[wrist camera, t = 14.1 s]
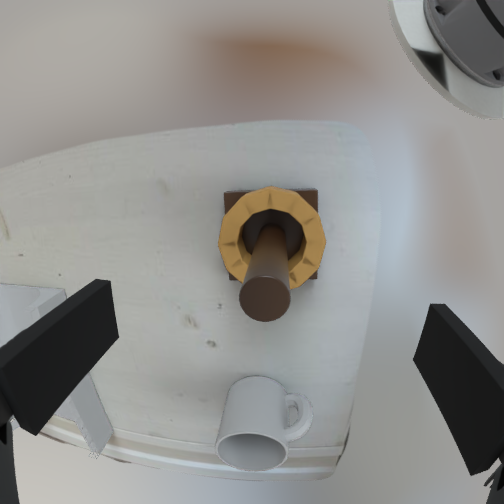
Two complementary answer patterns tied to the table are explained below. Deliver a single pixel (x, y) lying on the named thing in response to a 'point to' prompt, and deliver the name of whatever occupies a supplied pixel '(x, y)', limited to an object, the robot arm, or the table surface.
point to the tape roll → (280, 200)
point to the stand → (269, 256)
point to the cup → (260, 424)
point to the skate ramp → (84, 395)
